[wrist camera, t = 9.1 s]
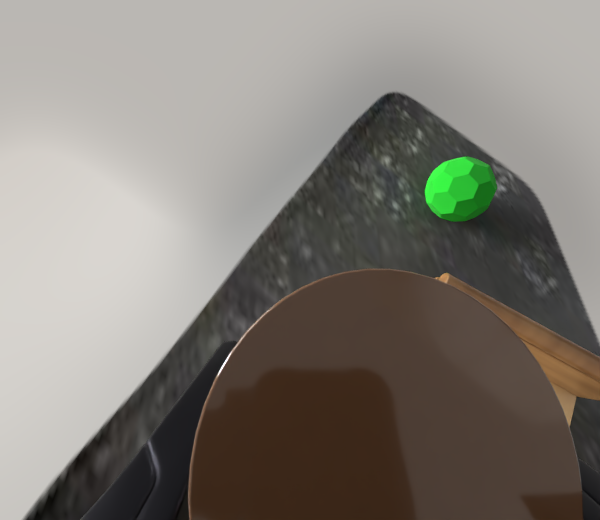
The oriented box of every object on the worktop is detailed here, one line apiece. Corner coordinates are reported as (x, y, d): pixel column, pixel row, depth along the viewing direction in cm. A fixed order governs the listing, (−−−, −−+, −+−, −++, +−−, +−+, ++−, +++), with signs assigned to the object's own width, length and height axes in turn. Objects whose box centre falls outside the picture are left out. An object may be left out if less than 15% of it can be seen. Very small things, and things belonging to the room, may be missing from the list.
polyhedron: (455, 240, 25) (497, 218, 21) (405, 209, 25) (436, 181, 21) (477, 196, 27) (521, 167, 22) (430, 167, 27) (464, 132, 22)
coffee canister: (385, 416, 14) (659, 591, 4) (266, 472, 13) (272, 884, 3) (338, 298, 15) (470, 225, 5) (226, 340, 14) (139, 341, 4)
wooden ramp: (502, 583, 19) (634, 721, 12) (313, 474, 20) (340, 548, 13) (554, 378, 23) (677, 395, 16) (396, 290, 24) (450, 270, 17)
